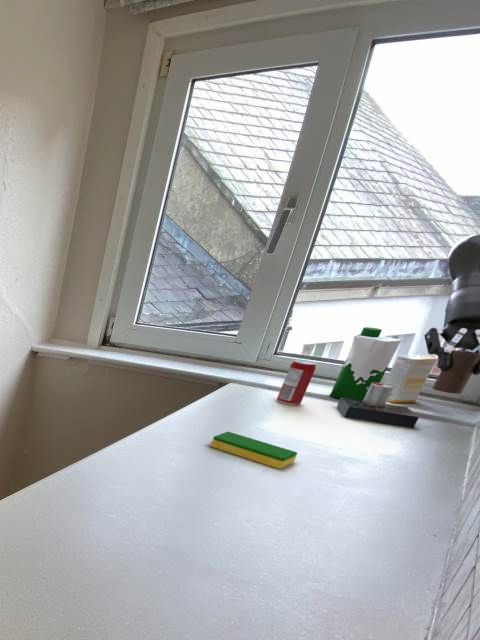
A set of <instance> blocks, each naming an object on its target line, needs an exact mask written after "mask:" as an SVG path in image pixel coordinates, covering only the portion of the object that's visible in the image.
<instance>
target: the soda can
mask: <svg viewBox="0 0 480 640" xmlns="http://www.w3.org/2000/svg"><path fill="white" fill-rule="evenodd" d="M316 366H317V363H316V362H315V361H311V360H306V359H294V360H293V361H292V362H291V364H290V365H289V368H288V370H287V373H286V376H285V377H284V380H283V383H282V385H281V388H280V390H279V393H278V395H277V397H276V399H277V401H278V402H279V403H281V404H285V405H289V406H290V405H291V406H297V405H300V404H302V401H303V399H304V397H305V394H306V392H307V390H308V388H309V385H310V382H311V380H312V378H313V375H314V374H315V371H316Z"/></svg>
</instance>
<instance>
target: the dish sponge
mask: <svg viewBox="0 0 480 640" xmlns="http://www.w3.org/2000/svg"><path fill="white" fill-rule="evenodd" d="M210 447H211V448H214V449H217V450H221V451H223V452H226V453H229V454H231V455H232V454H233V455H236V456H239V457H242V458H245V459H248V460H251V461H254V462H257V463H260V464H264V465H267V466H270V467H271V468H275V469H278V470H279V469H280V470H281V469H283V468H285V467H287V466H289V465H291V464H293V463H294V462H295V460H296V459H297V455H298V452H297V451H294V450H291V449H287V448H284V447H281V446H278V445H274V444H271V443H267V442H264V441H261V440H258V439H255V438H251V437H249V436H245V435H241V434H238V433H235V432H232V431H226V432H223V433H220V434H217V435H215V436H213V437H212V440H211V443H210Z"/></svg>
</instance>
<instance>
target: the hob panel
mask: <svg viewBox="0 0 480 640" xmlns="http://www.w3.org/2000/svg"><path fill="white" fill-rule="evenodd" d="M362 402H363V400H356V399H350V398H343V397H341V399H340V398H339V401H338V402H337V405H336V409H337V410H338V411H339V413H340V414H341V415H342V417H343V418H345V419H346V418H347V419H353V420H360V421H365V422H371V423H378V424H384V425H389V426H390V425H391V426H396V427H402V428H409V429H415V426H416V424H417V422H418V421H419V418H420V416H418V415H417V414H416V413H415V412H413V411H412V410H411V409H410V408H409V407H408V406H403V405H397V404H390V403H385V405H384V407H372V406H368V405H365V404H363V403H362Z"/></svg>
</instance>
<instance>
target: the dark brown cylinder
mask: <svg viewBox="0 0 480 640" xmlns="http://www.w3.org/2000/svg"><path fill="white" fill-rule="evenodd" d="M450 353H451V360H450V366H449V368H447V369H446V370H445V371H440V372H439V374H438V375H437V378H436V380H435V381H434V384H433V385H432V387H431V389H432V390H434V391H437V392H441V393H446V394H447V393H448V394H455V395H459V394H462V393H463V391H464V389H465V388H466V386H467V384H468V382H469V381H470V379H471V377H472V375H473V371H474V370H475V368H476V366H477V364H478V362H479V360H480V354H479V353H475V352H470V351H469V350H468V351H467V350H459V349H458V350H457V349H452V350H451V351H450Z"/></svg>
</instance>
